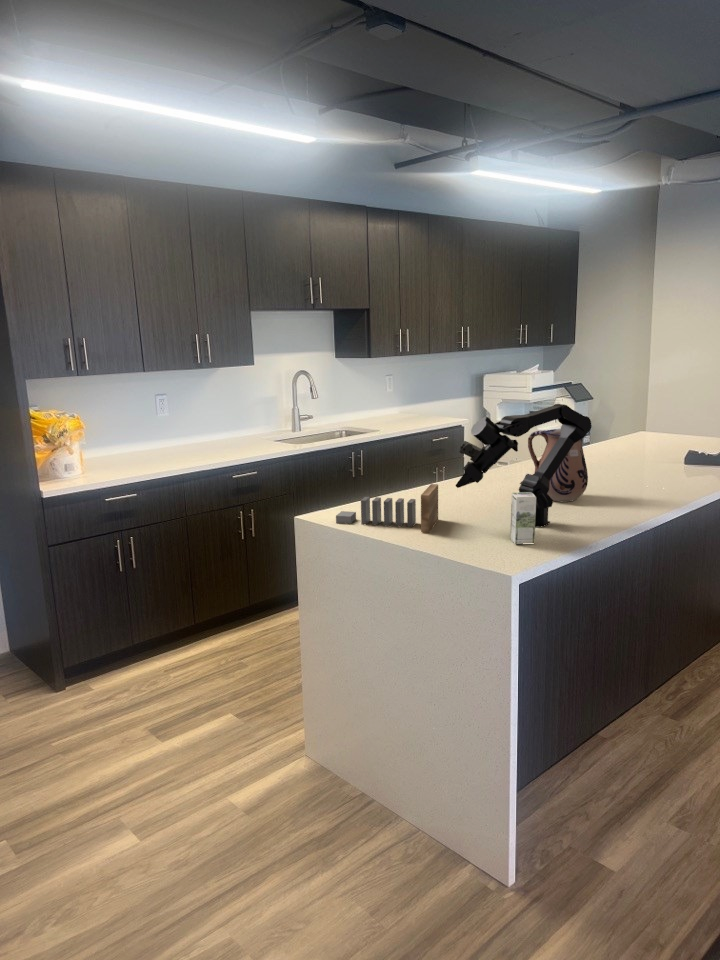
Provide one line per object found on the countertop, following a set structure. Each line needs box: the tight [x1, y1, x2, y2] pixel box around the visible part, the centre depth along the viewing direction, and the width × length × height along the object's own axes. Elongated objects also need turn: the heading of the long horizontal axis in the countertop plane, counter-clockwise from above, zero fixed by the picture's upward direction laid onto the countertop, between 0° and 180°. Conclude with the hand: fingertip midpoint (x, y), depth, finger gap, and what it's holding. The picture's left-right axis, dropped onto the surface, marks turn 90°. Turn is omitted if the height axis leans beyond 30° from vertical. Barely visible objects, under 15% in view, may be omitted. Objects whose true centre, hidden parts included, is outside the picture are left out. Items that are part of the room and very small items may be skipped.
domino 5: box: [406, 498, 417, 528], centre depth 222 cm, size 2×5×8 cm, turn 164°
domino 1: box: [360, 496, 371, 525], centre depth 226 cm, size 2×5×8 cm, turn 164°
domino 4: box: [394, 497, 405, 527], centre depth 223 cm, size 2×5×8 cm, turn 163°
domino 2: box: [371, 497, 382, 526], centre depth 225 cm, size 2×5×8 cm, turn 164°
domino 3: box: [383, 497, 394, 526], centre depth 224 cm, size 2×5×8 cm, turn 163°
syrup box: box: [509, 492, 536, 545], centre depth 200 cm, size 6×6×14 cm
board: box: [420, 483, 439, 534], centre depth 220 cm, size 2×16×12 cm, turn 163°
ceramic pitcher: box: [527, 428, 589, 502], centre depth 249 cm, size 18×21×25 cm
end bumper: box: [335, 510, 357, 525], centre depth 229 cm, size 5×6×2 cm
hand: (457, 485), depth 216 cm, fingers open, 2 cm apart
